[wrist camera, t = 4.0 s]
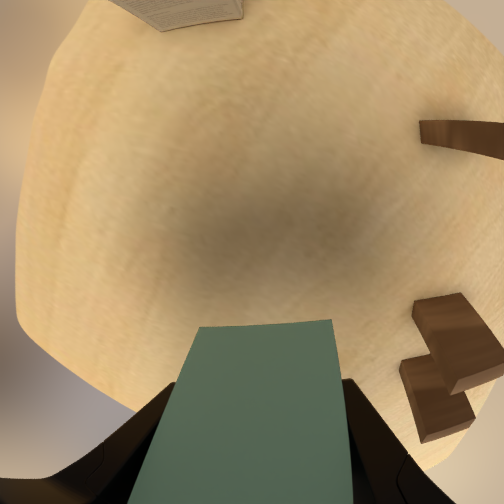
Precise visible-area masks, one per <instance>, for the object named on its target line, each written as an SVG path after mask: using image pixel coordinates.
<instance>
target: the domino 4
mask: <svg viewBox="0 0 504 504" xmlns="http://www.w3.org/2000/svg"><path fill="white" fill-rule="evenodd" d="M399 373H400V376H401V379H402V382H403V385H404V388H405V391H406V394H407V397H408V400H409V403H410V407H411V410H412V413H413V417H414V420H415V424H416V427H417V431H418V435H419V438H420V442H421V444H423V443H426V442H430V441H433V440H436V439H439V438H442V437H445V436H448V435H451V434H453V433H456V432H459V431H462V430H464V429H467V428H469V427H470V425H471V424H472V423H473V421H474V420H475V418H476V417H475V415H474V412H473V410H472V407H471V405H470V403H469V401H468V398H467V396H466V394H465V392H464V391H462V392H459V393H456V394H453V395H450V394H449V392H448V390H447V387H446V385H445V383H444V380H443V378H442V376H441V374H440V372H439V369H438V367H437V365H436V363H435V361H434V359H433V357H432V355H431V354H429V355H424V356H420V357H415V358H410V359H405V360H402V361H401V365H400V369H399Z"/></svg>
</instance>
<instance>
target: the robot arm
mask: <svg viewBox="0 0 504 504" xmlns="http://www.w3.org/2000/svg"><path fill="white" fill-rule="evenodd" d="M341 380H342V387H343V394H344V402H345V410H346V418H347V427H348V437H349V447H350V459H351V472H352V488H353V504H456V503H455V502H454V501H452V500H451V499H450V498H449V497H448V496H447V495H446V494H445V493H444V492H443V491H442V490H441V489H440V488H439V487H437V485H436V484H435V483H433V481H432V480H431V479H430V478H429V477H428V476H427V475H426V474H425V473H424V472H423V471H422V469H421V468H420V467H419V466H418V465H417V463H416V462H415V461H414V459H413V458H412V457H411V455H410V454H408V452H407V450H406V449H405V448H404V446H403V445H402V444H401V442H400V441H399V440H398V438H397V437H396V436H395V434H394V433H393V432H392V430H391V429H390V428H389V426H388V425H387V424H386V423H385V421H384V420H383V419H382V417H381V416H380V415H379V413H378V412H377V411H376V409H375V408H374V407H373V405H372V404H371V403H370V401H369V400H368V399H367V397H366V396H365V395H364V394H363V392H362V391H361V390H360V388H359V387H358V386H357V384H356V383H355V382H354V380H353V379H350V378H349V379H341ZM175 384H176V382H172V383H170V384H169V385H168V386H167V387H166V388H165V389H163V390H162V391H161V392H160V393H159V394H158V395H157V396H156V397H154V398H153V399H152V400H151V401H150V402H149V403H148V404H146V405H145V406H144V407H143V408H142V409H141V410H140V411H138V412H137V413H136V414H135V415H134V416H133V417H131V418H130V419H129V420H128V421H127V422H126V423H124V424H123V425H122V426H121V427H120V428H119V429H117V430H116V431H115V432H114V433H113V434H111V435H110V436H109V437H108V438H107V439H105V440H104V442H102V443H100V444H99V445H98V446H97V447H96V448H94V449H93V450H92V451H91V452H89V453H88V454H86V455H85V456H83V457H82V458H81V459H79V460H77V461H76V462H74V463H73V464H71V465H69V466H68V467H66V468H65V469H63V470H61V471H59V472H58V473H56V474H54V475H52V476H50V477H47V478H42V479H10V478H0V504H127V503H128V501H129V498H130V495H131V493H132V490H133V488H134V485H135V482H136V480H137V477H138V475H139V472H140V470H141V467H142V465H143V462H144V460H145V457H146V455H147V452H148V450H149V447H150V445H151V442H152V440H153V437H154V435H155V432H156V430H157V427H158V425H159V422H160V420H161V417H162V415H163V413H164V410H165V408H166V405H167V403H168V401H169V398H170V396H171V393H172V391H173V388H174V386H175Z"/></svg>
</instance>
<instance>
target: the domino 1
mask: <svg viewBox="0 0 504 504" xmlns="http://www.w3.org/2000/svg"><path fill="white" fill-rule="evenodd" d="M127 504H353V488H352V472H351V459H350V447H349V437H348V427H347V418H346V410H345V402H344V394H343V387H342V380H341V373H340V366H339V360H338V353H337V347H336V341H335V336H334V330H333V324H332V319H330V320H320V321H309V322H297V323H284V324H269V325H250V326H225V327H199V330H198V332H197V334H196V337H195V339H194V341H193V344H192V346H191V348H190V351H189V353H188V355H187V358H186V360H185V362H184V365H183V367H182V369H181V372H180V374H179V377H178V379H177V381H176V384H175V386H174V388H173V391H172V393H171V396H170V398H169V401H168V403H167V405H166V408H165V410H164V413H163V415H162V417H161V420H160V422H159V425H158V427H157V430H156V432H155V435H154V437H153V440H152V442H151V445H150V447H149V450H148V452H147V455H146V457H145V460H144V462H143V465H142V467H141V470H140V472H139V475H138V477H137V480H136V482H135V485H134V488H133V490H132V493H131V495H130V498H129V501H128V503H127Z"/></svg>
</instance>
